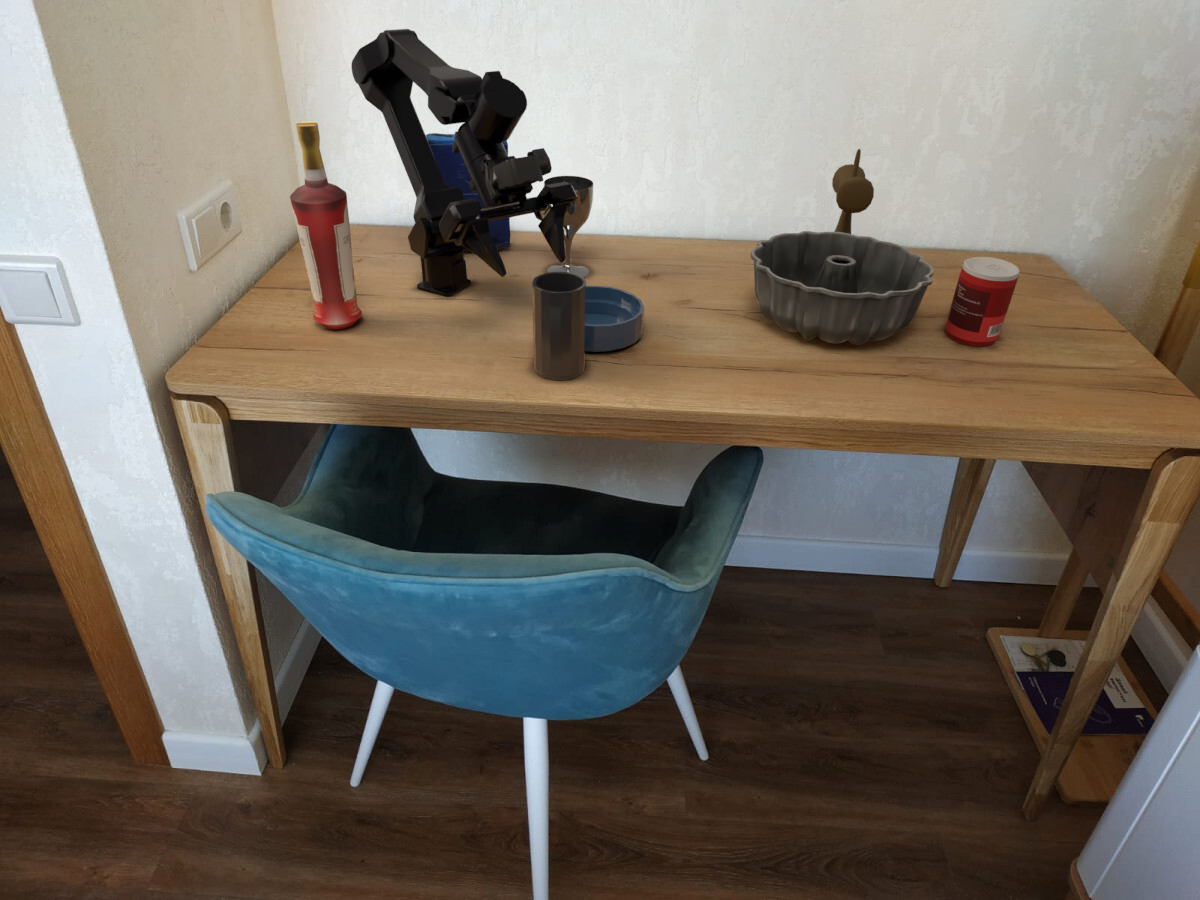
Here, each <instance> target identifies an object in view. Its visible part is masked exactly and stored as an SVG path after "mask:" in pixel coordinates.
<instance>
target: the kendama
mask: <svg viewBox="0 0 1200 900" xmlns="http://www.w3.org/2000/svg"><path fill="white" fill-rule="evenodd" d="M861 152H862V149H861V148H858V149H857V150H856V154H855V156H854V161H853V164H852V163H851V164H844V165H842V166H840V167H838V169H836V171H835V172H834V174H833V177H832V179H831V181H832V183H831V185H832V189H833V191H834V193H835V194H836V196H835V199H836V201H835V202H836V204H837V206H838V208H839V209H840V210H841V213H840V216H839V218H838V222H837V224H836V227H835V229H834V231H833V232H842V233H848V234H852V215H853V214H858V213H862V212H863V211H866V210H867V209H868V208H869V206H870V205H871V204H872V201H873V199H874V196H875V195H874V193H875V188H874V186H873V183H872V182H871V181H870V180H869V179H867V178H866V173H865V170H864V169H863V168H862V167H861V166H860V161H861V154H862V153H861Z"/></svg>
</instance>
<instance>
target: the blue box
mask: <svg viewBox="0 0 1200 900" xmlns="http://www.w3.org/2000/svg"><path fill="white" fill-rule="evenodd" d="M425 136H426V138H427V140H428V143H429V145H430V148H431V150H432V153H433V155H434V158H435V160H436V163H437V165H438V168H439V170H440V173H441V175H442V177H443V180H444V182H445V184H446V185H448V186H449V187H450V188H456V187H458V188H459V189H460V190H461V191H462V193H463V196H464V199H465V200H468V199H475V200H477V201H479V204H480V206H481V207H484V206H483V203H482V201H481V199H480V197H479V194H478V192H477V190H475V191H472V190H471V188H470V186H469V183H470V182H471V180H472V178H471V176H470V174H469V171H468V169H467V167H466V164H465V162H464V160H463V158H462V155H461V153H453V151H452V144H453V142H454V138H455V133H435V132H432V133H431V132H430V133H427V134H425ZM502 143H503V145H504V148H505V150H506V152H507V154H508V155H509V143H508V140H506V141H505V142H502ZM510 218H511V217H509V218H504V219H499V220H494V221H490V222H488V225H489V232H490V235H491V237H492V239H493V242H494V244H495V246H496V248H497V250H500V249H504V248H510V246H511V223H510V220H511V219H510ZM465 252H466V253H467V252H468V253H469V252H470V253H471V251H470V250H468V249H464V250H463V253H465Z"/></svg>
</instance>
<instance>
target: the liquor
mask: <svg viewBox="0 0 1200 900" xmlns="http://www.w3.org/2000/svg"><path fill="white" fill-rule="evenodd" d="M295 126H296V132H297V139H298V142H299V144H300V147H301V153H302V167H303V178H304V179H303V180H304V184H303V185H301V186H299V187H297V188H296V189H295V190H294V191H293V192H292V193H291V194H290V196H289V199H290V203H291V207H292V212H293V216H294V221H295V225H296V231H297V235H298V239H299V243H300V247H301V251H302V255H303V259H304V263H305V267H306V272H307V276H308V281H309V285H310V290H311V295H312V301H313V305H314V310H315V311H314V314H313V317H312V319H313V320H314V321H315V322H317V323H318V324H320V326H323V327H324V328H326V329H328V330H335V331H336V330H345V329H348V328H350V327H352V326H353V325H355V323H356V322H358V320H359V319H360V318H361V316H362V315H363V311H362V309H360V307H359V306H358V297H357V296H358V295H357V290H356V289H357V288H356V281H355V271H354V261H353V251H352V249H353V248H352V238H351V237H352V236H351V235H352V233H351V226H350V225H351V224H350V215H349V208H348V207H349V205H348V196H347V192H346V190H344V189H342V188H341V187H339V186H338V185H336V184H333V183H329V181H328V176H327V173H326V169H325V165H324V161H323V157H322V153H321V149H320V145H321V143H320V142H321V138H320V137H321V136H320V131H319V124H318V122H315V121H302V122H301V121H300V122H298V123H296V124H295Z"/></svg>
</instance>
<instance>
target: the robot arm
mask: <svg viewBox="0 0 1200 900" xmlns="http://www.w3.org/2000/svg"><path fill="white" fill-rule="evenodd" d="M351 73H352V77H353V80H354V82H355V83H356V84H357V85H358V86H359V89H360V91H361V93H362V95H363V96H364V98H365V100H366V101H367V102H368V103H370V104H371V105H372V106H374V107H375V108H376V109H377V110H379V111H380V112H381V114H382V115H383V118H384V120H385V123H386V125H387V128H388V131H389V133H390V136H391V138H392V140H393V142H394V145H395V148H396V150H397V152H398V155H399V157H400V158H399V159H400V160H401V162H402V165H403V167H404V170H405V172H406V175H407V178H408V180H409V182H410V185H411V187H412V190H413V192H414V195H415V198H416V200H415V204H414V206H415V207H414V211H413V216H412V217H413V220H414V224H413V226H412V228H411V230H410V232H409V234H408V236H407V239H408V244H409V247H410V250H411V252H413V253H415V254H416V255H417V256H419V257H420V266H421V276H422V277H421V279H422V281H421V282H419V283H418V284H416V288H417V289H419V290H422V291H427V292H430V293H434V294H438V295H442V296H446V297H450V296H452V295H454V294H455V293H457V292H460V290H462V289H464V288H465V287H468V286H469V285H471V284H472V279H469V278H468V273H467V261H466V260H465V256H464V255H465V254H464V252H463V250H464V249H468V250H470V253H473V254H474V255H475V256H476V257H478V258H479V259H480V260H481V261H483V262H484V263H485V264H486V265H487V266H488V267H490V268H491V269H492V270H493V271H494V272H495V273H496V274H497V275H499V276H500V277H501V278H504V277H506V276H507V269H506V266H505V263H504V261H503V259H502V257H501V255H500V252H499V249H497V248H496V246H495V244H494V242H493V239H492V237H491V235H490V232H489V225H488V222H490V221H494V220H499V219H504V218H509V217H510V218H514V217H519V216H524V215H528V214H529V215H530V214H534V217H535V218H536V219H537V220H539V221H540V222H539V224H538V229H539V230H540V232H541V234H542V235H543V237H544V239H545V241H546V242H547V245H548V246H549V248H550V249H551V251H552V253H553V255H554V256H555V258H556V260H557V261H558V262H559V264H563V263H564V262H566V249H565V241H564V230H563V227H564V216H565V214H566V212H567V211H568V210H569V209H570V207H571V206H572V204H573V203H574V202H575V200H576V199H577V198H578V197H577V195H576V192H575V190H574V188H573V186H572V185H571V184H570V183H567V182H561V183H555V184H550V185H545V186H544V185H543V188H542V189H541V190H540V192H539V193H538V195H537V196H534V197H533V196H532V197H527V194H530V193H531V192H532V191H533V190H534V187H533V185H532V184H535V183H537V182H539V183H541V182H544V178H543V176H546V175H548V174H551V173H552V170H553V169H552V162H551V160H550V157H549V155H548V153H547V151H546V149H545V147H542V148H536V149H532V150H531V151H528V152H527V154H526V156H522V157H515V155H510V156H509V153H508V154H507V152H506V150H505V148H504V145H503V143H502V142H505V141H506V140H507V141H508V140H509V139H510V137H511V135H512V134H513V133H514V130H515V129H516V127H517V125H518V124H519V122H520V120H521V119H522V117H523V115H524V113H525V111H526V110H527V107H528V100H527V96H526V94H525V92H524V90H522V89H521V88H520V87H519V86H518V85H517V84H516V83H514V82H512V81H511V80H509V79H506V78H504V77H503V76H502V73H501V71H500V70H493V71H485V72H484V74H483V76H480V75H479V74H476V73H474V72H472V71H470V70H468V69H463V68H457V67H453V66H451V65H449V64H448V63H447V62H446V61H445V60H443V58H441V57H440V56H439V55H438V54H436V52H434V51H433V50H432V49H431V48H430V47H428V46H427V45H426V44H425V43H424V42H422V40H420V39H419V37H418V34H417V32H416V31H415V30H412V29H409V28H399V29H385V30H383V31H381V32H380V33H378V35H377V37H376V38H375V39H374V40H372V41H371V42H369V43H367V44H365V45H364V46H362V47H360V48H359V49H358V51H356V53H355V55H354V57H353V58H352V61H351ZM414 84H415V85H416V86H417V87H418V88H419V89H421V90H422V91H423V92H424V94H426V96H427V108H428V109H429V110H430V112H431V113H432V114H433V115H434V117H435V119H436V120H437V121H438V122H439V123H440V124H441V125H444V126H447V125H457V124H461V125H460V126H459V128H458V129H457V131H455V132H454V134H455V138H454V142H453V144H452V151H453V153H461V155H462V158H463V160H464V162H465V164H466V167H467V169H468V171H469V174H470V176H471V178H472V180H471V182H470V183H469V186H470V188H471V190H472V191H475V190H477V192H478V194H479V197H480V199H481V201H482V203H483V206H484V207H481V206H480V204H479V201H477V200H475V199H468V200H465V199H464V196H463V193H462V191H461V190H460V189H459V188H458V187H456V188H450V187H449V186H448V185H446V184H445V182H444V180H443V177H442V175H441V173H440V170H439V168H438V165H437V163H436V160H435V158H434V155H433V153H432V150H431V148H430V145H429V143H428V140H427V138H426V136H425V135H426V134H425V131H424V129H423V126H422V123H421V120H420V119H419V116H418V114H417V111H416V108H415V106H414V104H413V101H412V97H411V95H412V89H413V85H414Z"/></svg>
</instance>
